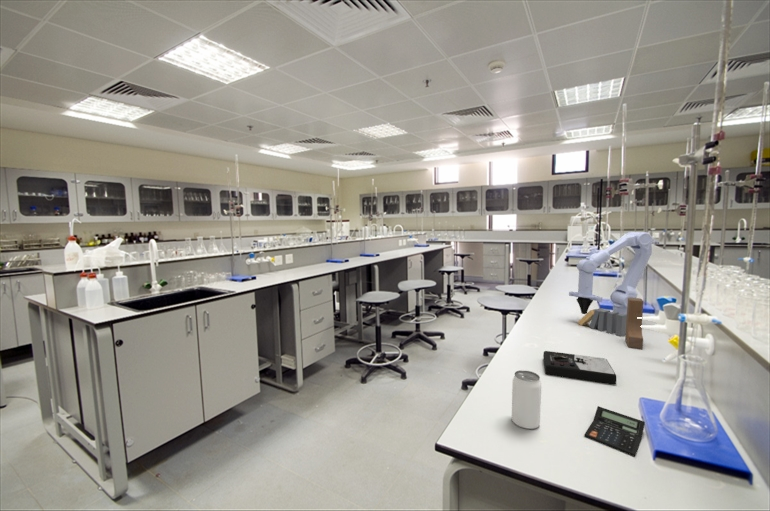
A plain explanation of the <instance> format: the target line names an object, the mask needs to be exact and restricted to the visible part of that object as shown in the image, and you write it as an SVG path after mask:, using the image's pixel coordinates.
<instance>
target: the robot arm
mask: <svg viewBox="0 0 770 511" xmlns="http://www.w3.org/2000/svg"><path fill="white" fill-rule="evenodd" d="M654 240H655V239H654V238H653V237H652V235H651V233H649V232H648V231H643V232H642V231H629V232H626V234H623V235H622V236H621V237H620V238H619V239H617V240H616V241H615V242H613V243H611V244H610V245H608V247H606V248H605V249H596V250H595V251H594V253H593V254H591V255H590V256H586V257H585V259H584V258H583V259H580V260H579V261H578V263H577V264H576V268H577V270H578V288H577V289H578V290H577V291H569V292H568V296H569V297H575V298H576V302H577V304H578V305H579V308H580V314H582V315H586V314H587V313H588V312H589V308H590V306H591V304H592V303H593V302H594V301H596V302H598V303H600V302H603V296H599V295H595V294H593V289H594V288H593V287H594V286H593V285H594V272H595V271H596V270H597V268H598V267H599V266H601V265H603V264H605V262H607V261H609V259H610V256H612V255H614V254H615V253H617V252H619V251H620V250H622V249H624V248H626V247H630V248H632V251H633V252H634V255H633V259H632V261H631V262H630V265H629V267H628V269H627V272H626V274H625V276H624V278H623V281H622V282H621V284H620V285H618V286H616V288H615V289H614V291H612V292H611V294H610V297H609V298H610V301H611V302H612V312H613V311H615V312H619V314H622V313H624V314H627V304H628V298H637V297H638V294H639V293H638V292H637V290H636V289H637V286H638V284H639V282H640V279H641V277H642V275H643V274H644V271H645V270H646V267H647V264H648V262H649V260H650V258H651V256H652V253H653V252H652V245H653V243H654Z"/></svg>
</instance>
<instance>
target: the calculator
mask: <svg viewBox="0 0 770 511" xmlns="http://www.w3.org/2000/svg"><path fill="white" fill-rule="evenodd" d="M594 414H595V415H594V416H593V420H592V422H591V423H590V425H589V426H588V428H587V430H586V431H585V433H584V435H583V437H584V438H587V439H589V440H592V441H594V442H597V443H599V444H602V445H603V446H606V447H608V448H612V449H614V450H617V451H618V452H621V453H624V454H626V455H629V456H631V457H634V458H635V457H636V455H637V453H638V450H639V447H640V444H641V442H642V439H643V435H644V431H645V430H644V429H645V425H646V424H645V423H646V422H645V421H644V420H640V419H637V418H635V417H632V416H628V415H625V414H623V413H620V412H616V411H614V410H610V409H607V408H605V407H601V406H599V405H597V408H596V411H595V413H594Z"/></svg>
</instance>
